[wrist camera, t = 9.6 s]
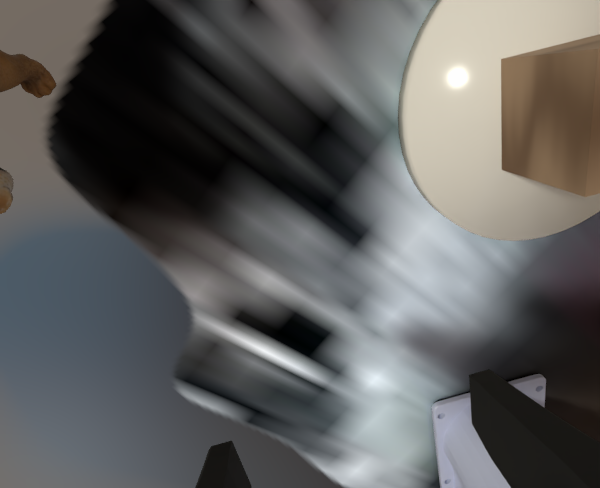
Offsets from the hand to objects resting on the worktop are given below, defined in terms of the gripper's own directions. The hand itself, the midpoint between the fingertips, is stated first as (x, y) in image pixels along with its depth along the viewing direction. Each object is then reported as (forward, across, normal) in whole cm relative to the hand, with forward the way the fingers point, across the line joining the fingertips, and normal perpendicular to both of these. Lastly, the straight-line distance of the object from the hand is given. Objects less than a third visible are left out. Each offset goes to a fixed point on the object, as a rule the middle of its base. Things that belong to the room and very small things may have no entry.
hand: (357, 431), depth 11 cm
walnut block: (+9, -13, -6) cm, 17 cm away
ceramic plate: (+10, -13, -6) cm, 18 cm away
